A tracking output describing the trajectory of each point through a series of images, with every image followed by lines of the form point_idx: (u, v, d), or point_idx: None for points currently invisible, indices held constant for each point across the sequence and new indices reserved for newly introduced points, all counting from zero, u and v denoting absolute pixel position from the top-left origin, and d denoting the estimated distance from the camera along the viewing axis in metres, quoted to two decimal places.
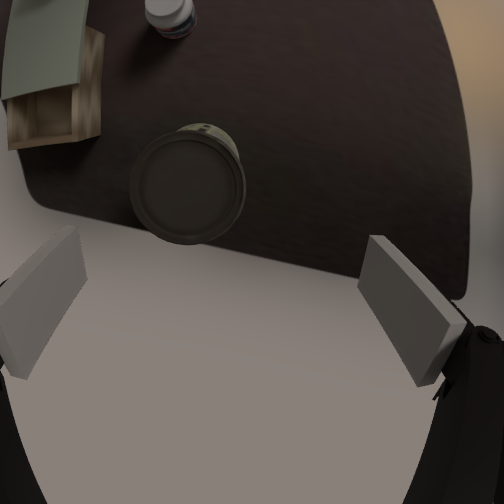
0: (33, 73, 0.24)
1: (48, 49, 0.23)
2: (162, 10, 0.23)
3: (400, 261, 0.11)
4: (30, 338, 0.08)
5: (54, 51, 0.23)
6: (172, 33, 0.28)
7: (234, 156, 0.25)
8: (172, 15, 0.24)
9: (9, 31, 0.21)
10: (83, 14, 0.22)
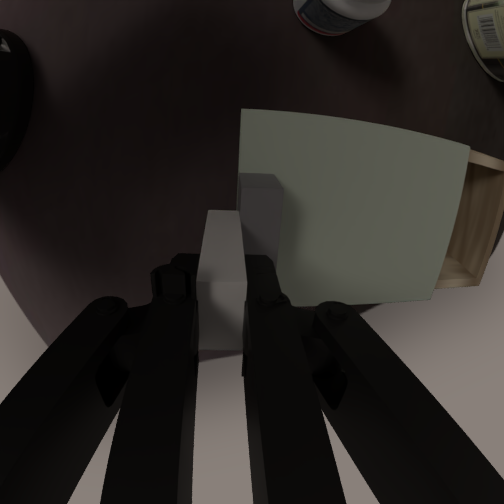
0: (427, 234, 0.18)
1: (403, 201, 0.17)
2: None
3: (229, 230, 0.13)
4: None
5: (411, 187, 0.17)
6: None
7: None
8: None
9: (321, 299, 0.20)
10: (360, 122, 0.15)
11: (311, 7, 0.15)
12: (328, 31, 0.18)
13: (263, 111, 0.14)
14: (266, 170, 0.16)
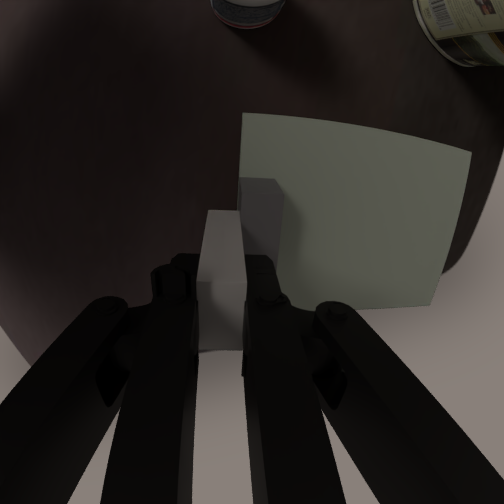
0: (428, 239, 0.18)
1: (404, 207, 0.17)
2: None
3: (229, 230, 0.13)
4: None
5: (412, 193, 0.17)
6: None
7: None
8: None
9: None
10: (362, 127, 0.15)
11: (215, 2, 0.15)
12: (242, 24, 0.17)
13: (264, 115, 0.14)
14: (267, 175, 0.16)
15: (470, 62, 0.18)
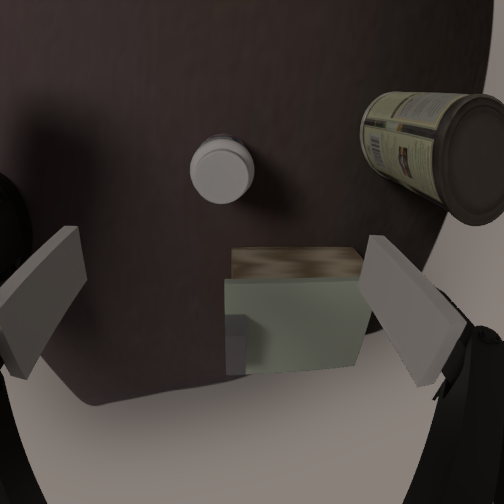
0: (346, 332, 0.31)
1: (326, 319, 0.30)
2: (240, 178, 0.22)
3: (400, 261, 0.11)
4: (30, 338, 0.08)
5: (332, 311, 0.29)
6: None
7: (466, 100, 0.15)
8: (246, 163, 0.22)
9: (277, 370, 0.32)
10: (296, 283, 0.27)
11: None
12: None
13: (237, 284, 0.27)
14: (240, 312, 0.28)
15: None
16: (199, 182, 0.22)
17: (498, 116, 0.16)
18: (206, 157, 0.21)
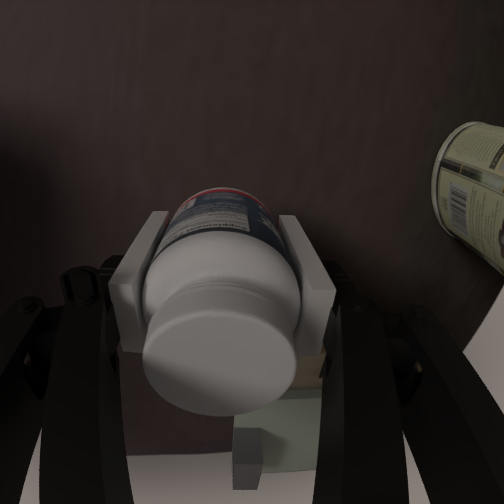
0: None
1: None
2: (271, 375, 0.08)
3: (295, 236, 0.13)
4: None
5: None
6: None
7: None
8: (289, 329, 0.08)
9: (295, 469, 0.22)
10: None
11: None
12: None
13: None
14: (255, 426, 0.19)
15: None
16: (158, 378, 0.07)
17: None
18: (171, 327, 0.07)
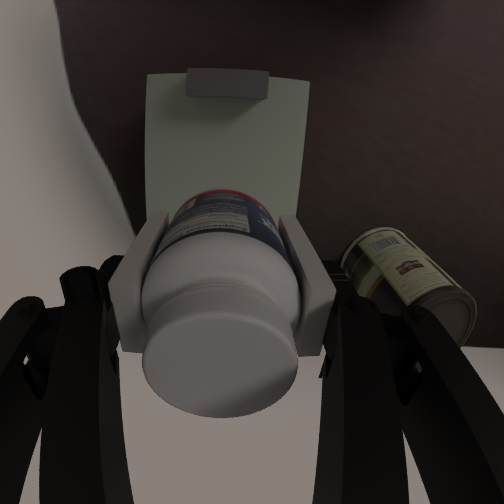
0: None
1: None
2: (272, 376, 0.07)
3: (295, 236, 0.13)
4: None
5: None
6: None
7: (475, 308, 0.23)
8: (290, 331, 0.08)
9: (150, 147, 0.21)
10: (300, 163, 0.22)
11: None
12: None
13: (307, 95, 0.20)
14: None
15: (346, 274, 0.34)
16: (158, 380, 0.07)
17: (458, 340, 0.25)
18: (171, 329, 0.07)
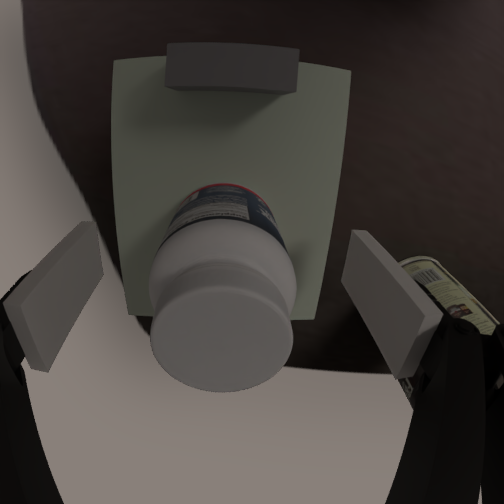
0: None
1: None
2: (269, 349, 0.08)
3: (380, 254, 0.12)
4: (52, 331, 0.09)
5: None
6: None
7: None
8: (285, 307, 0.09)
9: (120, 166, 0.14)
10: (336, 188, 0.16)
11: None
12: None
13: (348, 90, 0.13)
14: None
15: None
16: (164, 353, 0.08)
17: None
18: (178, 302, 0.07)
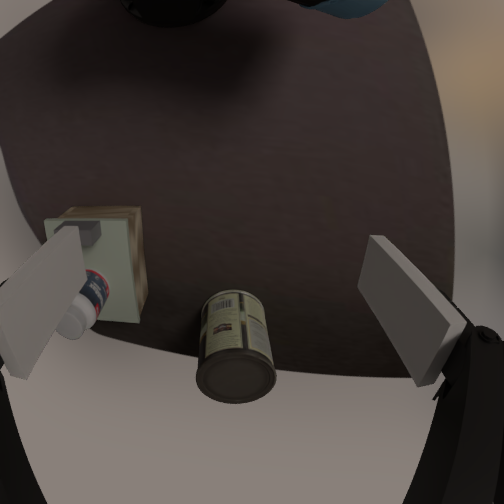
0: None
1: None
2: (76, 327, 0.29)
3: (400, 261, 0.11)
4: (30, 338, 0.08)
5: (110, 294, 0.38)
6: (102, 297, 0.34)
7: (270, 364, 0.37)
8: (80, 317, 0.29)
9: None
10: (130, 269, 0.36)
11: None
12: None
13: (125, 229, 0.34)
14: (102, 232, 0.34)
15: None
16: None
17: (265, 384, 0.38)
18: None
